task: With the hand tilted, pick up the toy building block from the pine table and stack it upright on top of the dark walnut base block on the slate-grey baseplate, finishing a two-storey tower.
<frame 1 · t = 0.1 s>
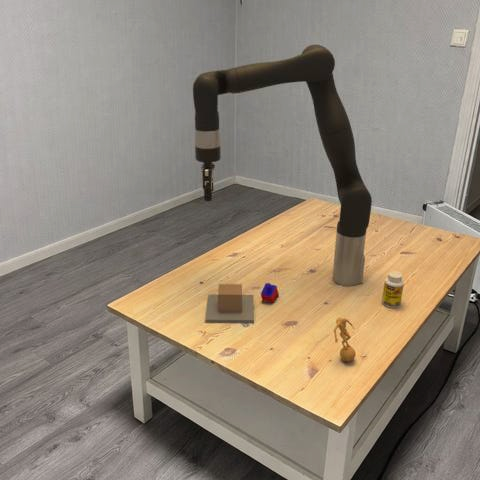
hand: (209, 195, 163), 29 cm above the table, tool pointing down, fingers open, 8 cm apart
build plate: (230, 309, 159), on the table
supplement bottle: (390, 304, 162), on the table
toy building block: (269, 300, 164), on the table
figurine: (343, 359, 138), on the table
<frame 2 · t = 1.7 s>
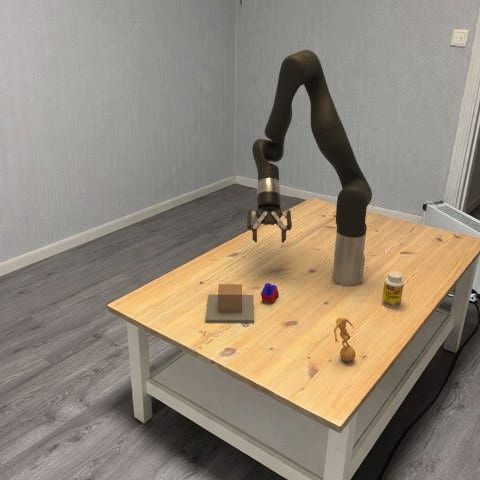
hand: (269, 241, 167), 15 cm above the table, tool tilted 45°, fingers open, 8 cm apart
nothing on the table moved.
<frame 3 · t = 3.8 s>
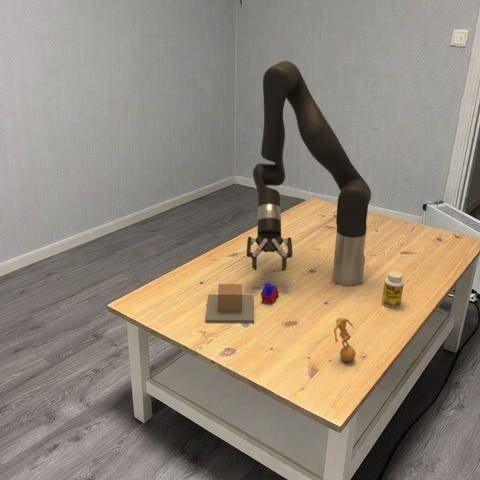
hand: (269, 269, 163), 9 cm above the table, tool tilted 45°, fingers open, 8 cm apart
nothing on the table moved.
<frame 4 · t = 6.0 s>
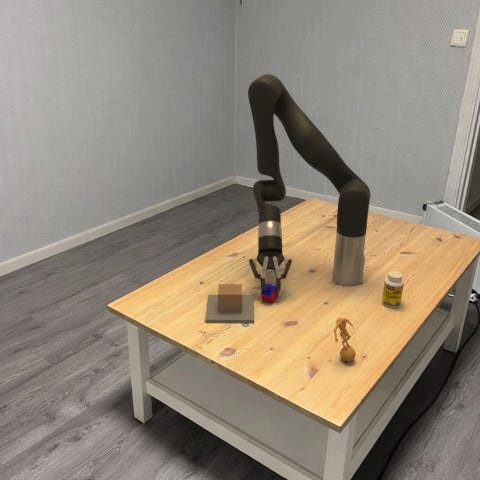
hand: (270, 291, 160), 4 cm above the table, tool tilted 45°, fingers closed on toy building block, 3 cm apart
toy building block: (269, 299, 164), on the table, touching gripper
everything else where it was.
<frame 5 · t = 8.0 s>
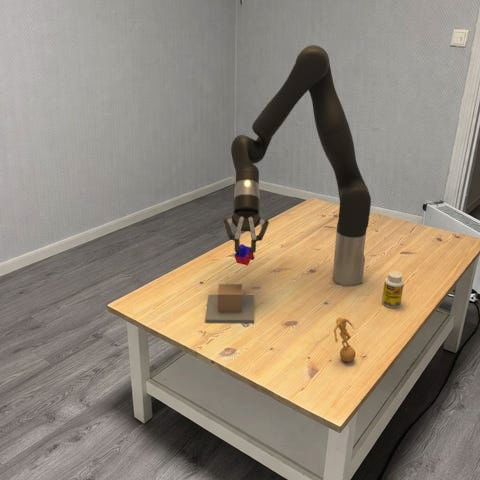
hand: (245, 253, 152), 18 cm above the table, tool tilted 45°, fingers closed on toy building block, 3 cm apart
toy building block: (244, 262, 156), point 14 cm above the table, touching gripper
everything else where it was.
when the fingers open (12 cm above the table, at t = 10.0 s): toy building block drops 1 cm, resting on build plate.
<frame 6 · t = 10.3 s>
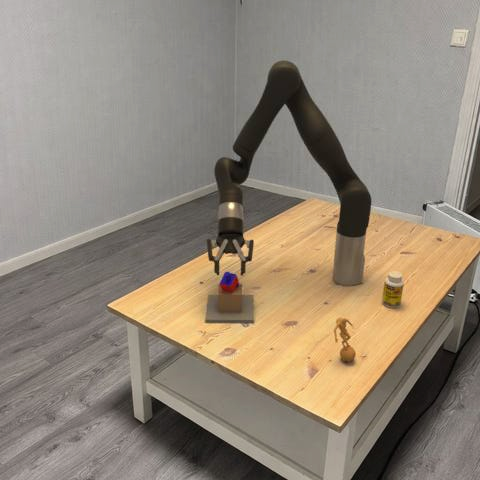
hand: (229, 274, 152), 13 cm above the table, tool tilted 45°, fingers open, 6 cm apart
toy building block: (229, 289, 156), point 7 cm above the table, touching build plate
everything else where it was.
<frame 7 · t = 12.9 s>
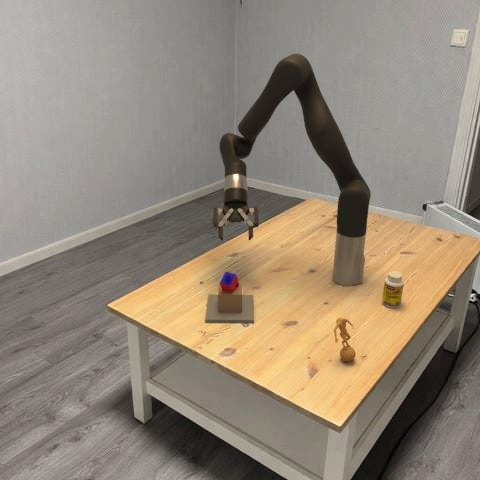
hand: (235, 239, 162), 17 cm above the table, tool tilted 45°, fingers open, 8 cm apart
nothing on the table moved.
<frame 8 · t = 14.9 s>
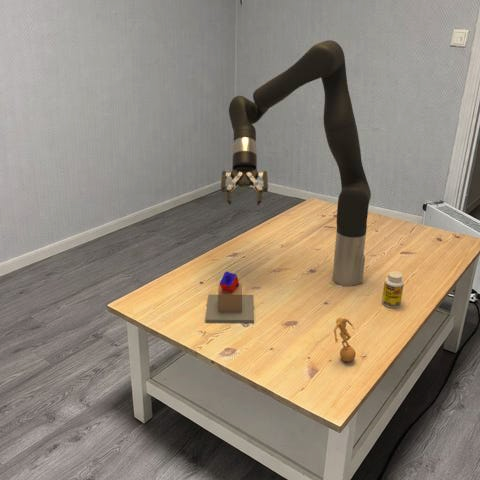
hand: (244, 203, 159), 29 cm above the table, tool tilted 45°, fingers open, 8 cm apart
nothing on the table moved.
at the end: toy building block 0.3 cm off-centre on the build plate, point 6.8 cm above the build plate's base; toy building block tilted 1°; the gripper is holding nothing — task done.
